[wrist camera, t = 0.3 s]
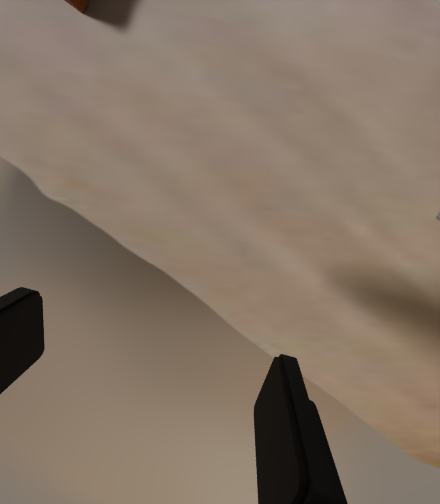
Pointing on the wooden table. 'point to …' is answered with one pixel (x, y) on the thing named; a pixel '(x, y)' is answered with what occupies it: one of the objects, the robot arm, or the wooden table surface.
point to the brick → (78, 4)
